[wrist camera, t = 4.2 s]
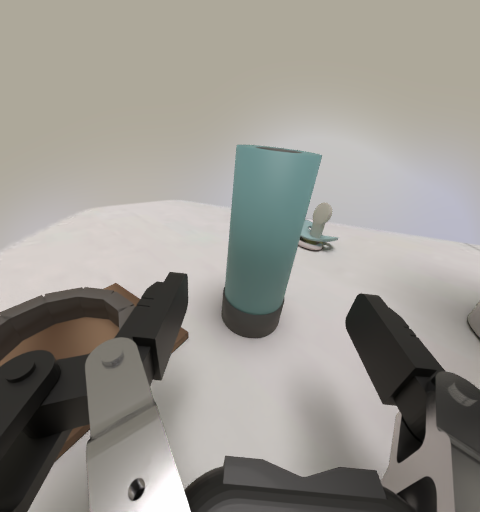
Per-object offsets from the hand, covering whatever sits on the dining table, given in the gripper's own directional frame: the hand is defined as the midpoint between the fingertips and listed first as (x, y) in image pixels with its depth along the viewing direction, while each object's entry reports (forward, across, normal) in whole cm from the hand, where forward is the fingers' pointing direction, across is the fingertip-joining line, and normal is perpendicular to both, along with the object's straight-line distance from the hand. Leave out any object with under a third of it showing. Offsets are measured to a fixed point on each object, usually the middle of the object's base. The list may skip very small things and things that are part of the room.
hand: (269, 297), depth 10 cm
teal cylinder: (+6, 0, +7) cm, 9 cm away
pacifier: (+23, -9, +8) cm, 26 cm away
